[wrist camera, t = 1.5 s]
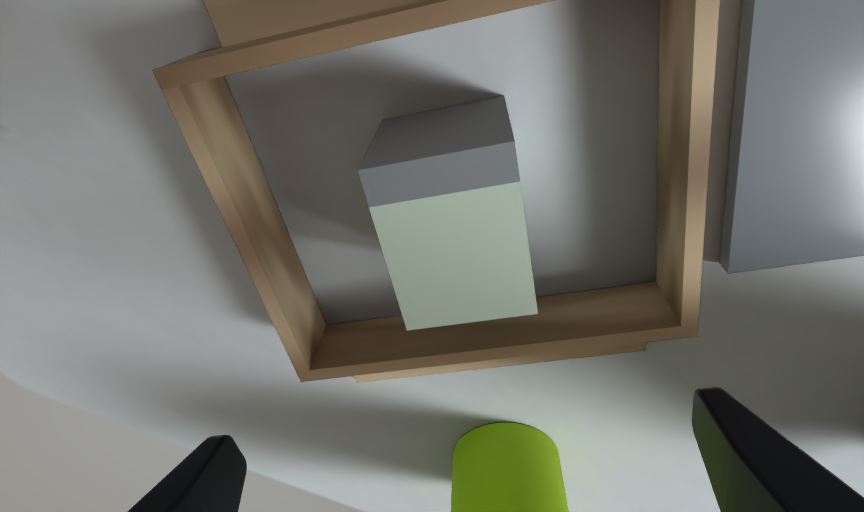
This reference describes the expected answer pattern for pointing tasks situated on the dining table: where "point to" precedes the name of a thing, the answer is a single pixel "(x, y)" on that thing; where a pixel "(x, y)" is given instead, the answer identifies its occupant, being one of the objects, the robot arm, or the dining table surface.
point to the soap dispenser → (507, 471)
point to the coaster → (796, 136)
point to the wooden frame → (388, 337)
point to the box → (451, 214)
